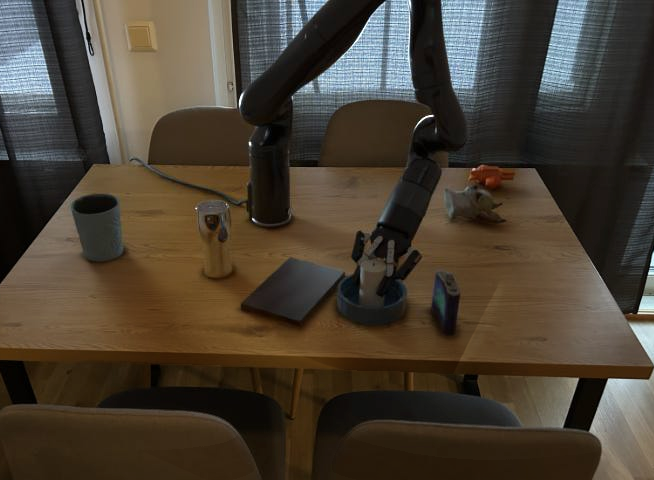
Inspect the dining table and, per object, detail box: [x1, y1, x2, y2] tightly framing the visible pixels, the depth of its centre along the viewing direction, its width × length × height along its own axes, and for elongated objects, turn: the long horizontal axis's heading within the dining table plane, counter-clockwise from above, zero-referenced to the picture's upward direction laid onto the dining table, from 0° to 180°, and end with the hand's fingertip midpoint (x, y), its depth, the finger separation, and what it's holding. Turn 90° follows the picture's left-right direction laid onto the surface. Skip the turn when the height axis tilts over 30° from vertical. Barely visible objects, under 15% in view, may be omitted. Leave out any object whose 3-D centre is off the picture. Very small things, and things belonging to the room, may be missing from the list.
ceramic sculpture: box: [443, 184, 507, 225], centre depth 154 cm, size 11×9×15 cm
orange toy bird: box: [467, 164, 516, 190], centre depth 170 cm, size 5×8×12 cm
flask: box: [430, 269, 461, 336], centre depth 117 cm, size 9×3×11 cm, turn 8°
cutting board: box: [240, 256, 346, 327], centre depth 129 cm, size 13×20×2 cm, turn 152°
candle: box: [359, 259, 387, 308], centre depth 122 cm, size 5×5×10 cm
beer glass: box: [195, 199, 234, 279], centre depth 132 cm, size 7×7×15 cm
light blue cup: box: [70, 193, 124, 262], centre depth 140 cm, size 10×10×12 cm
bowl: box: [336, 273, 408, 326], centre depth 124 cm, size 13×13×4 cm
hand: (367, 290), depth 121 cm, fingers closed on candle, 4 cm apart
